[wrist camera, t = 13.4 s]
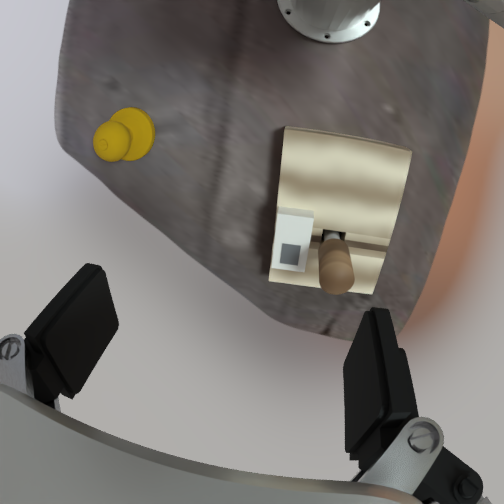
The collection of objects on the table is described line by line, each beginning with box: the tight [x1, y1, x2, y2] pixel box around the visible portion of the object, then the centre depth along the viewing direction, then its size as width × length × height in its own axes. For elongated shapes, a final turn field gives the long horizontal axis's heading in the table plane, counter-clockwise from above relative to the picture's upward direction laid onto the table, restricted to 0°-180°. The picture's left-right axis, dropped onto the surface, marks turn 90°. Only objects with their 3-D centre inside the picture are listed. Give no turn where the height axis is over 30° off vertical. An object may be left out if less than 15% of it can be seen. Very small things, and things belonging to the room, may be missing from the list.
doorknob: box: [93, 107, 155, 162], centre depth 37 cm, size 8×8×8 cm
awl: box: [318, 229, 355, 295], centre depth 38 cm, size 4×4×12 cm
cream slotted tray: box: [269, 126, 412, 294], centre depth 40 cm, size 22×16×3 cm
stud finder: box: [271, 206, 314, 272], centre depth 40 cm, size 8×4×2 cm, turn 176°
